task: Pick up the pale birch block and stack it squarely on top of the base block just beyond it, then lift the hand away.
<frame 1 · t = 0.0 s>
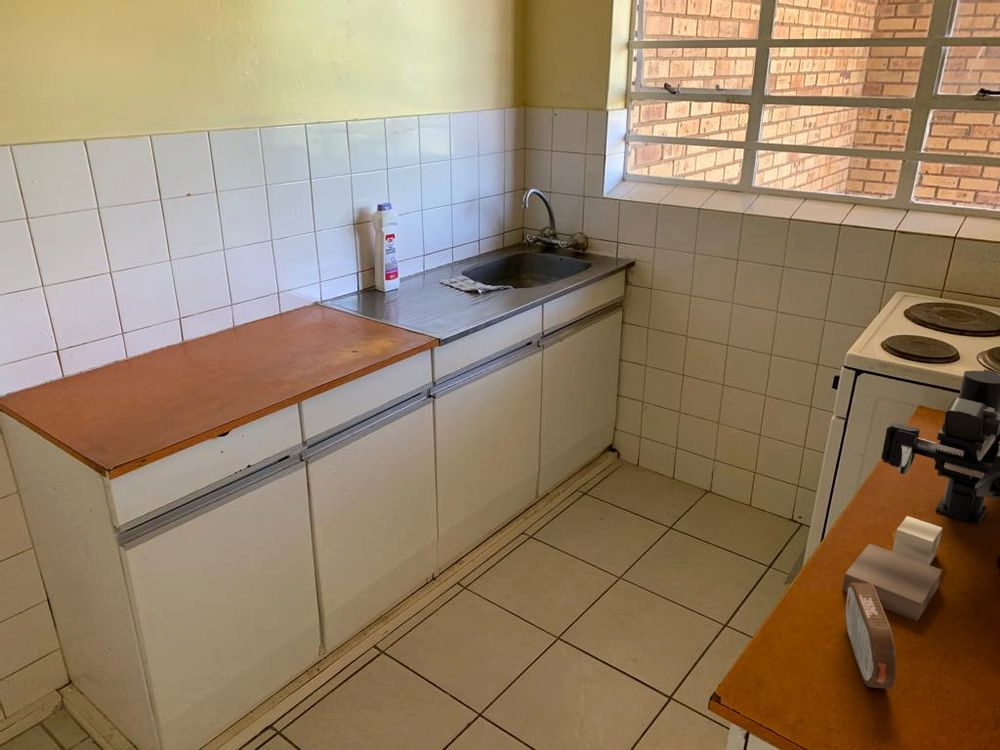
hand: (937, 481, 104), 17 cm above the countertop, tool horizontal, fingers open, 9 cm apart
block: (913, 556, 116), on the countertop
tin: (862, 660, 96), on the countertop
base: (890, 588, 109), on the countertop
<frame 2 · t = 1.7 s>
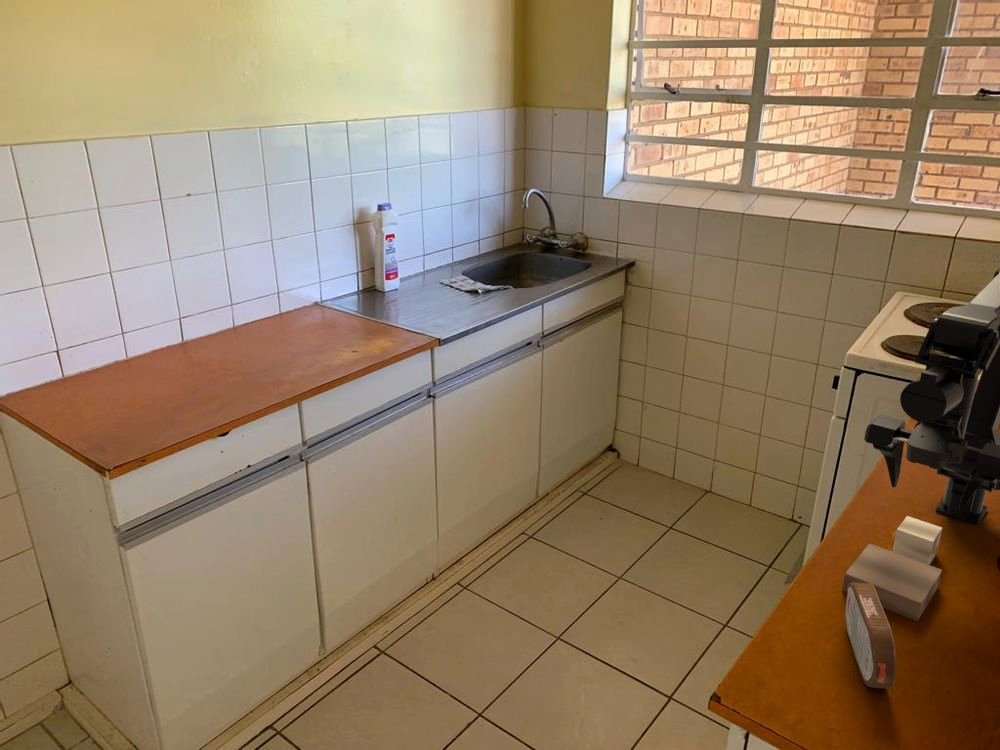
hand: (926, 496, 112), 10 cm above the countertop, tool pointing down, fingers open, 9 cm apart
nothing on the countertop moved.
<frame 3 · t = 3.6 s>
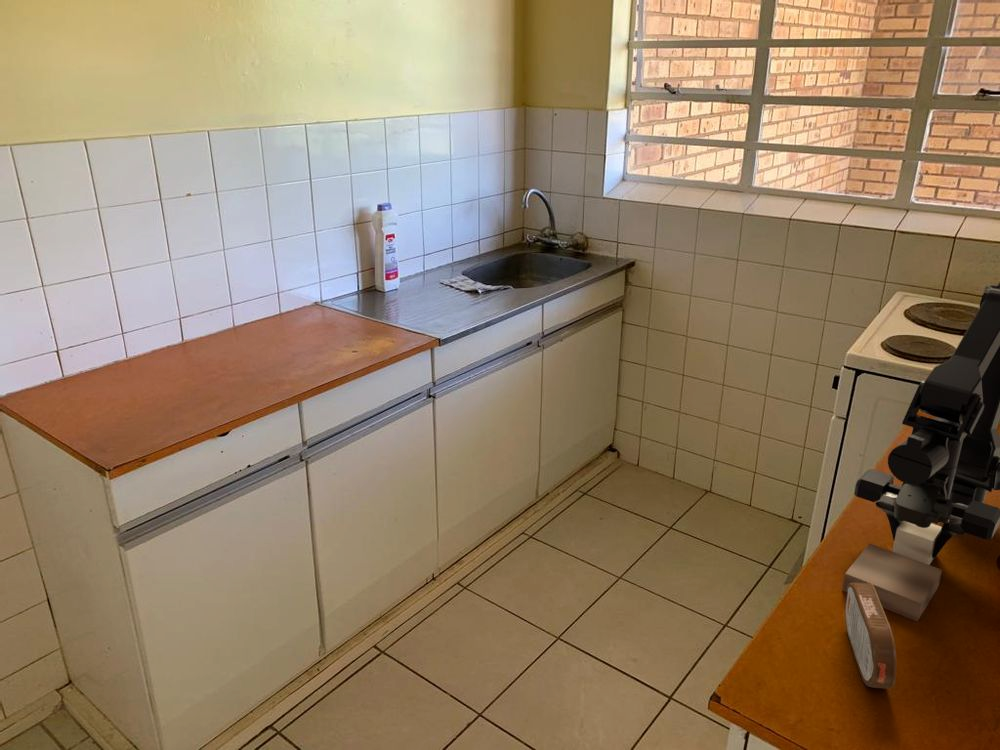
hand: (914, 549, 116), 1 cm above the countertop, tool pointing down, fingers closed on block, 5 cm apart
block: (913, 555, 116), on the countertop, touching gripper
everything else where it was.
when the fingers open (5 cm above the countertop, at t = 7.7 s): block drops 1 cm, resting on base.
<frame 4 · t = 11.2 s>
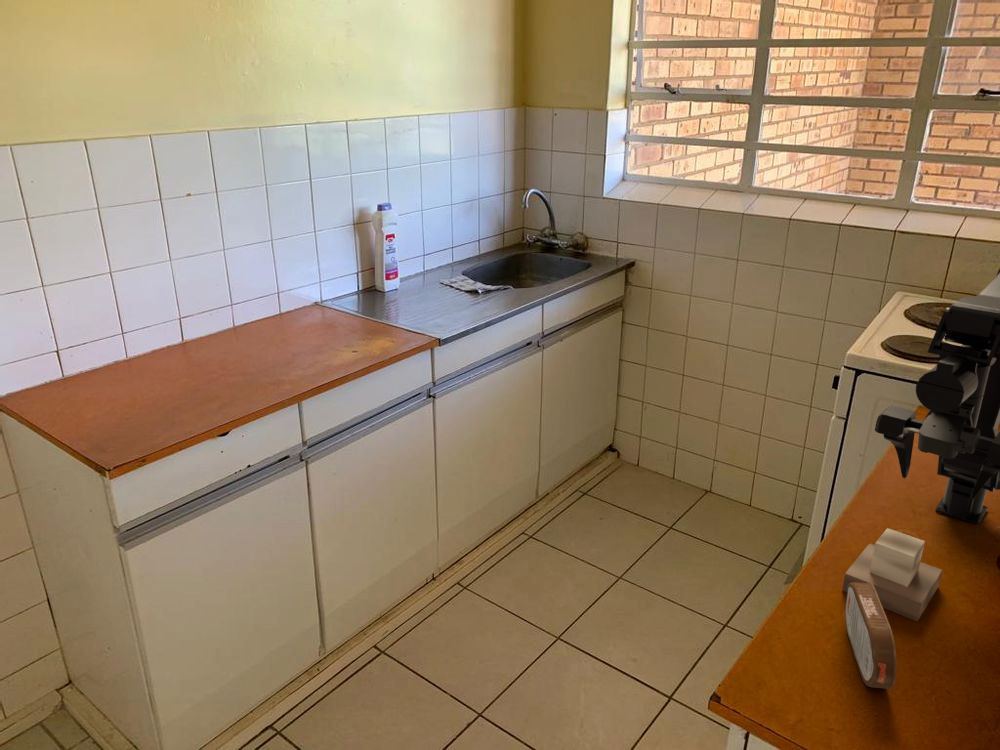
hand: (937, 487, 112), 12 cm above the countertop, tool pointing down, fingers open, 9 cm apart
block: (893, 571, 108), point 3 cm above the countertop, touching base
everything else where it was.
at the end: block 0.0 cm off-centre on the base, point 3.0 cm above the base's base; block tilted 0°; the gripper is holding nothing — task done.
